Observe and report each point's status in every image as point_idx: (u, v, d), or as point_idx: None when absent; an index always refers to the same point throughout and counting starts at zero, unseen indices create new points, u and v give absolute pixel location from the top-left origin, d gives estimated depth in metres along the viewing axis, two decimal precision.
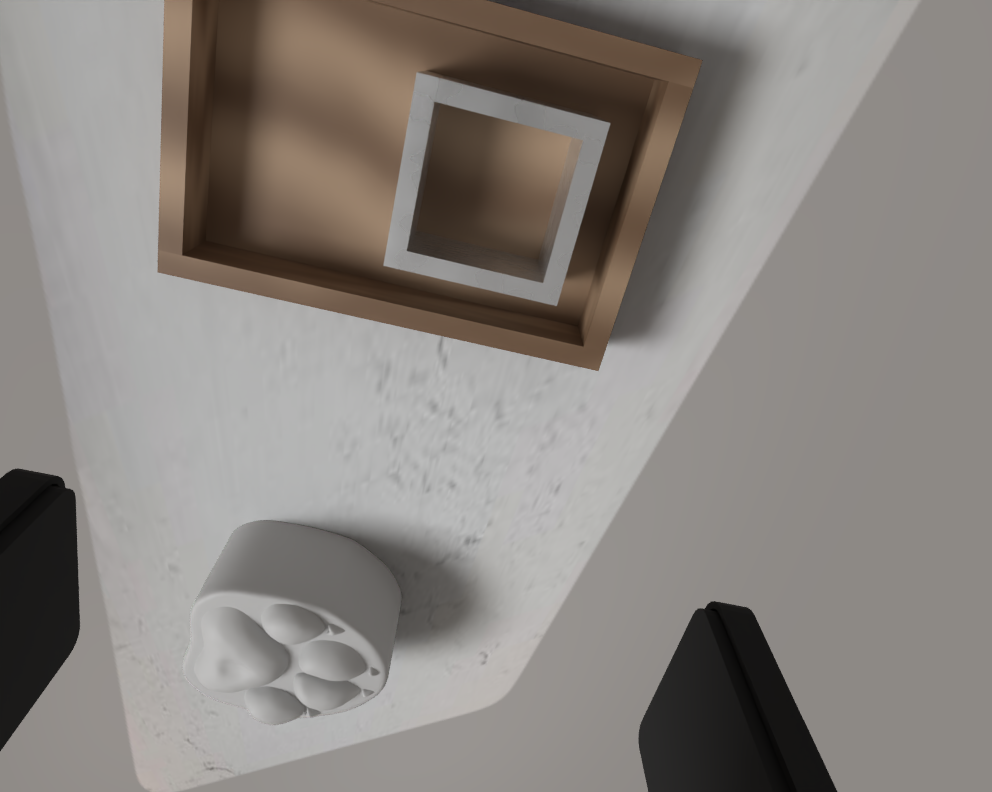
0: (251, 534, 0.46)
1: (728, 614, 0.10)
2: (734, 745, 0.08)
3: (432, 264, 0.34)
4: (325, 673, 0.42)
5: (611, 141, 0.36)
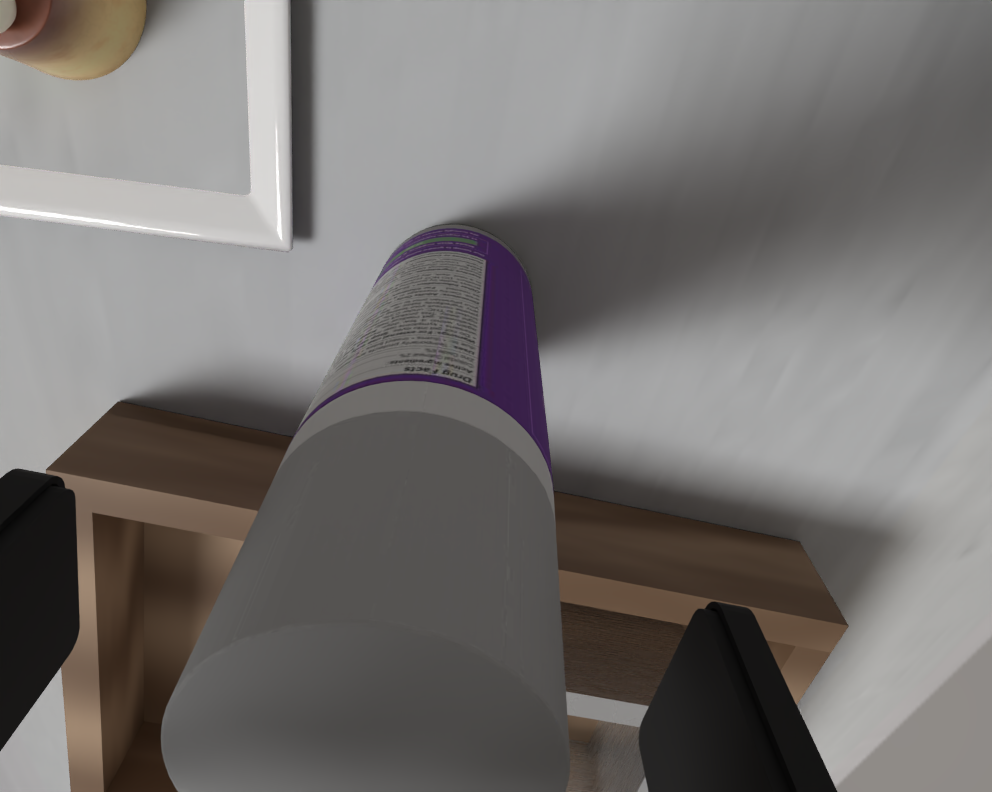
0: None
1: (728, 614, 0.10)
2: (734, 745, 0.08)
3: None
4: None
5: None
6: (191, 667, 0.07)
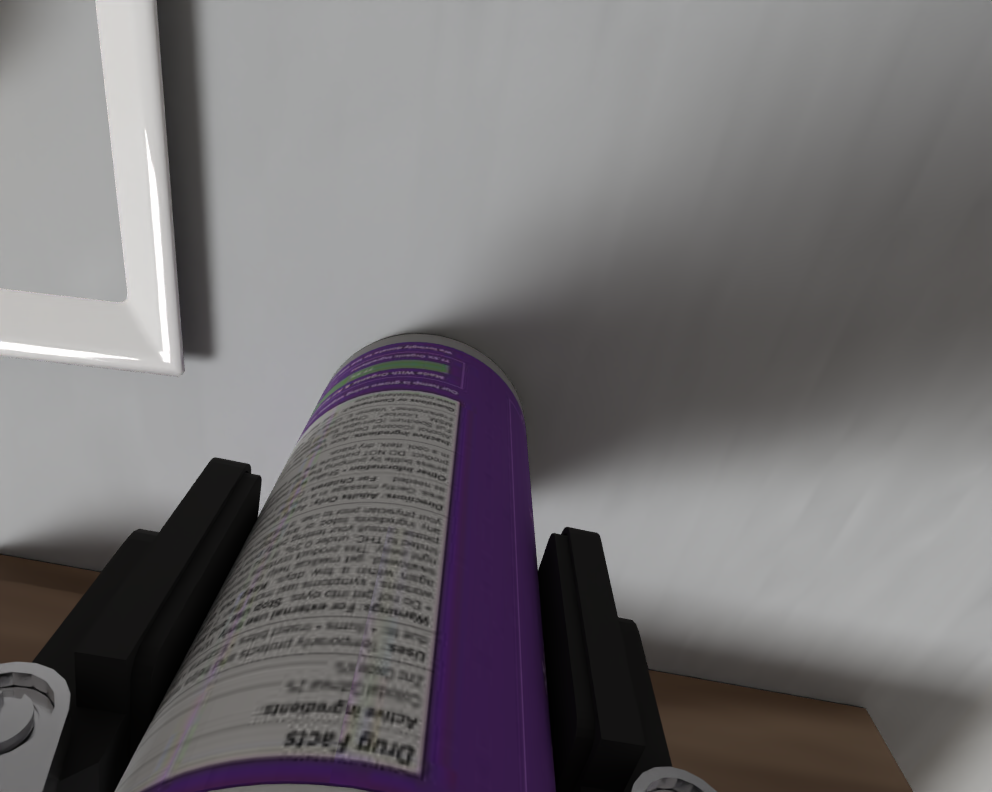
0: None
1: (575, 536, 0.11)
2: (557, 644, 0.09)
3: None
4: None
5: None
6: None
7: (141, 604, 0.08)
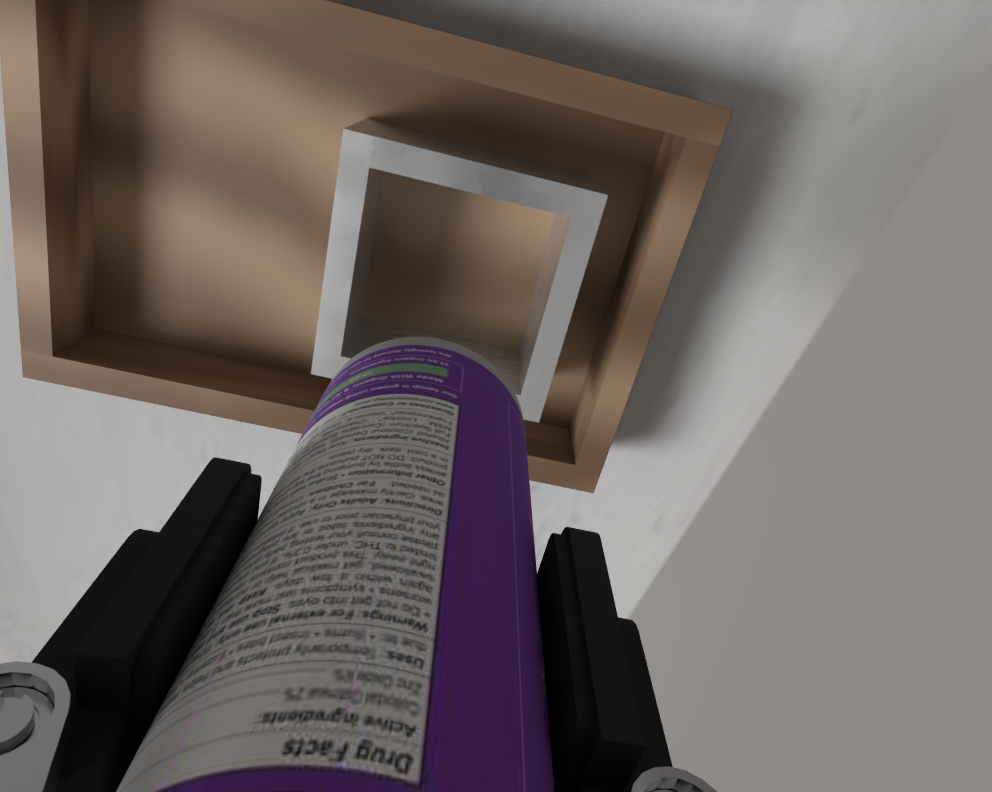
0: None
1: (575, 537, 0.11)
2: (557, 644, 0.09)
3: None
4: None
5: (609, 206, 0.28)
6: None
7: (141, 604, 0.08)
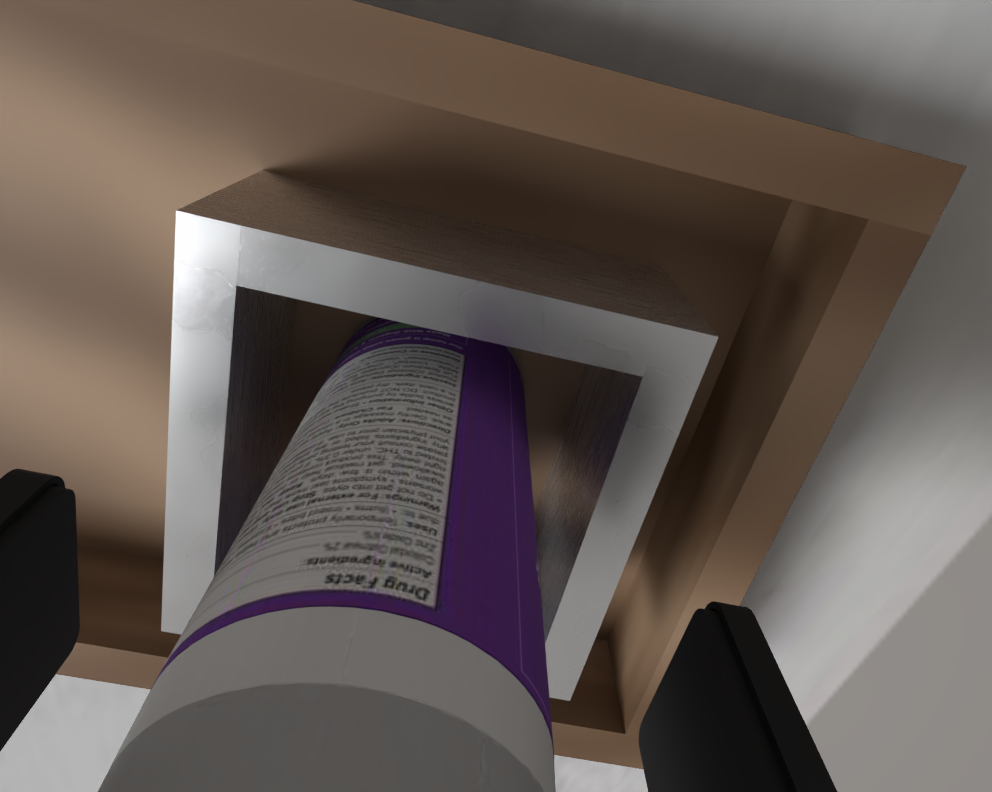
0: None
1: (728, 614, 0.10)
2: (734, 745, 0.08)
3: None
4: None
5: None
6: None
7: None
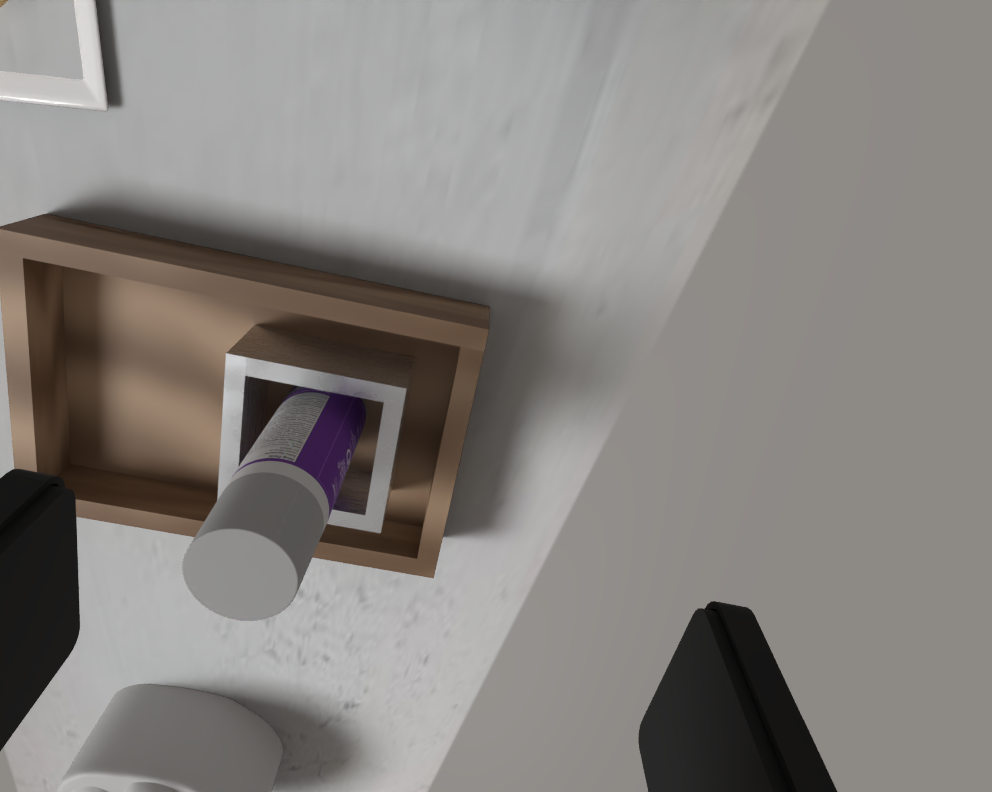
0: (125, 702, 0.49)
1: (728, 614, 0.10)
2: (734, 745, 0.08)
3: None
4: None
5: (431, 376, 0.39)
6: (191, 544, 0.26)
7: None
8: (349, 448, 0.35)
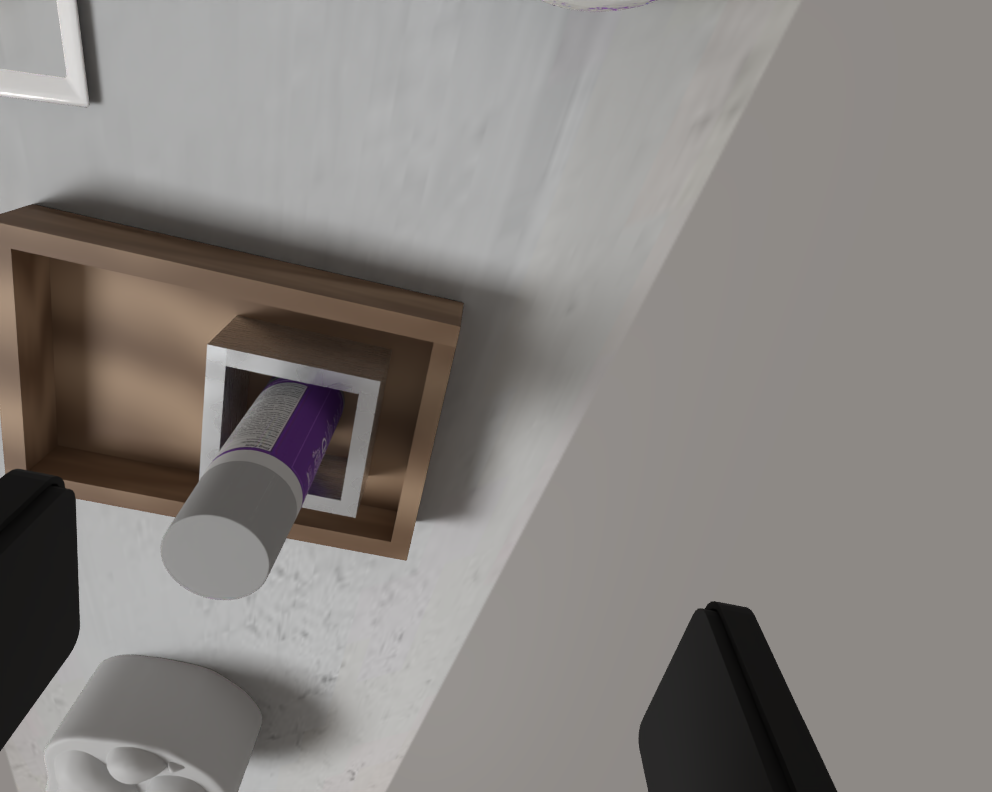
0: (110, 672, 0.51)
1: (728, 614, 0.10)
2: (734, 745, 0.08)
3: None
4: None
5: (407, 368, 0.41)
6: (168, 528, 0.28)
7: None
8: (325, 437, 0.37)
